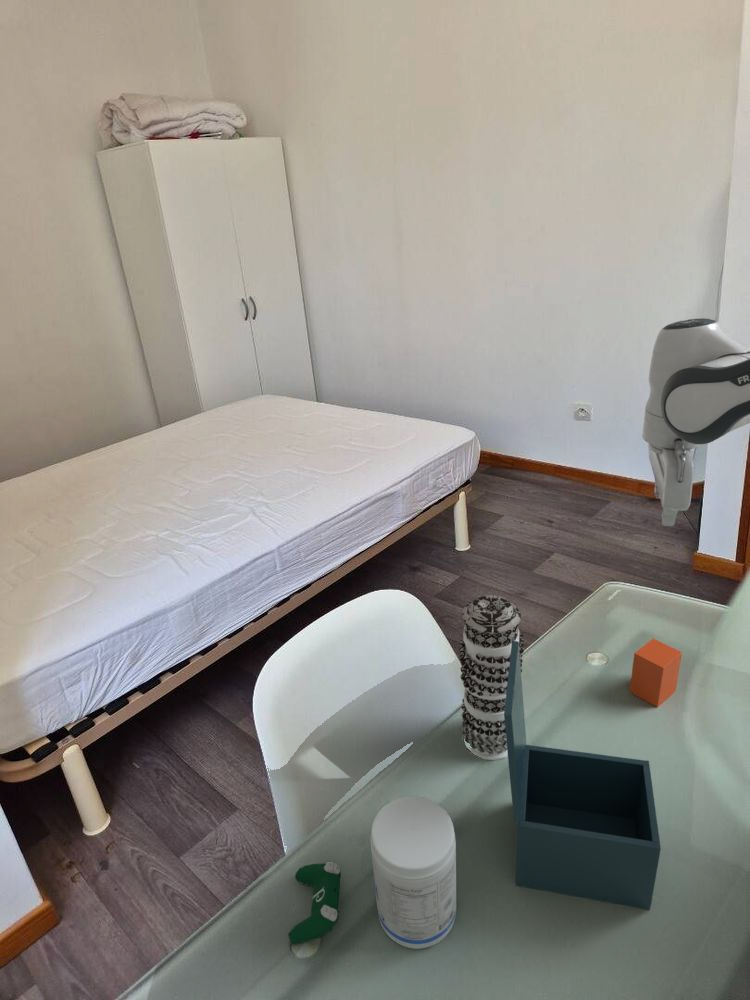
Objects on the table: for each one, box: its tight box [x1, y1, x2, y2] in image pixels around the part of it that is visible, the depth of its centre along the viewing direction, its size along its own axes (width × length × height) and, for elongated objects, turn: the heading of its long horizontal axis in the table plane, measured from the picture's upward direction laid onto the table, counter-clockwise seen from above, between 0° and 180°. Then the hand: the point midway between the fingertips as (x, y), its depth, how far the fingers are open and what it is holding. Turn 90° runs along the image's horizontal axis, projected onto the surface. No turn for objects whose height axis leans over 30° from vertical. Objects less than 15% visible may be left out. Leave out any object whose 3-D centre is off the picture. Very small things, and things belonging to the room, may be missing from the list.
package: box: [629, 638, 683, 708], centre depth 111 cm, size 5×6×8 cm
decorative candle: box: [458, 594, 525, 761], centre depth 100 cm, size 9×9×25 cm
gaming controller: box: [287, 861, 342, 945], centre depth 83 cm, size 9×4×6 cm
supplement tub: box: [370, 795, 457, 950], centre depth 79 cm, size 10×10×15 cm
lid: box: [504, 641, 527, 824], centre depth 82 cm, size 16×13×1 cm
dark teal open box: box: [514, 744, 662, 911], centre depth 86 cm, size 16×13×11 cm
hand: (663, 509), depth 109 cm, fingers open, 8 cm apart
